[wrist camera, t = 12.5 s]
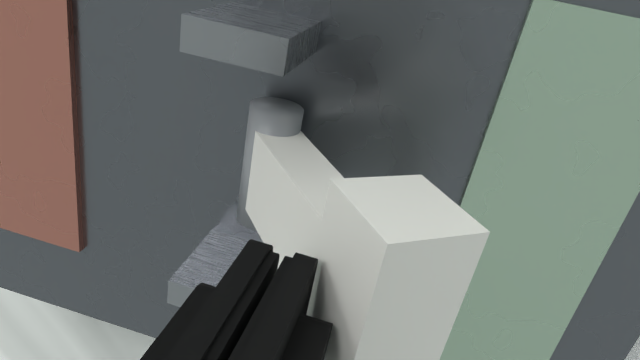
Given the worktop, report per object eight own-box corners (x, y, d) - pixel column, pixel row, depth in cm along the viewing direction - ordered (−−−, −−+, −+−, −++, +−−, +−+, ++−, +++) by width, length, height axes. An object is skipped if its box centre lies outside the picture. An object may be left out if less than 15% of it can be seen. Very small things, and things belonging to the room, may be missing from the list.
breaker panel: (28, 224, 30) (-117, 318, 22) (-21, -237, 20) (-313, -355, 12) (537, 379, 26) (574, 559, 18) (791, -97, 16) (1106, -143, 8)
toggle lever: (221, 225, 19) (325, 458, 11) (237, 72, 16) (387, 244, 9) (279, 220, 20) (411, 430, 12) (303, 76, 17) (490, 232, 10)
